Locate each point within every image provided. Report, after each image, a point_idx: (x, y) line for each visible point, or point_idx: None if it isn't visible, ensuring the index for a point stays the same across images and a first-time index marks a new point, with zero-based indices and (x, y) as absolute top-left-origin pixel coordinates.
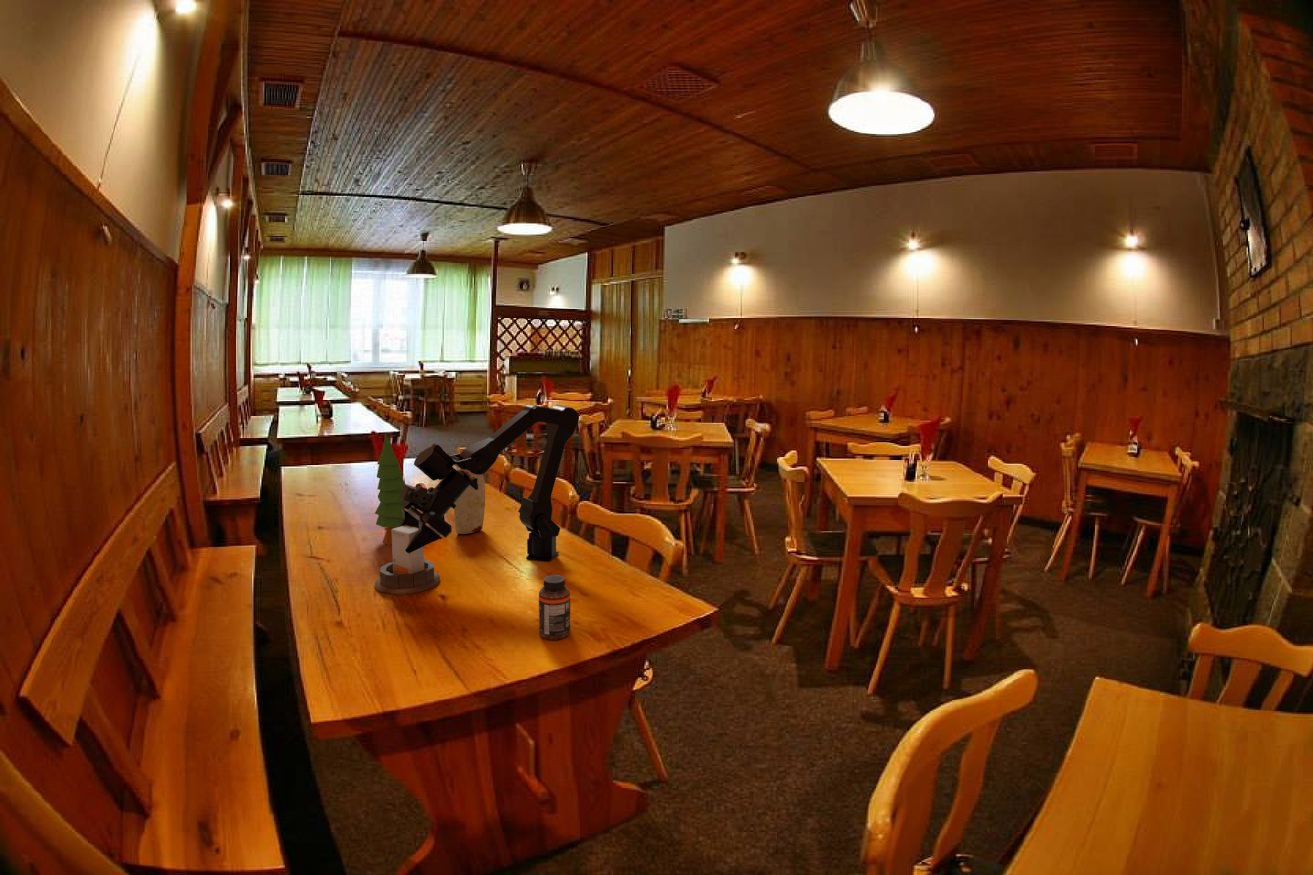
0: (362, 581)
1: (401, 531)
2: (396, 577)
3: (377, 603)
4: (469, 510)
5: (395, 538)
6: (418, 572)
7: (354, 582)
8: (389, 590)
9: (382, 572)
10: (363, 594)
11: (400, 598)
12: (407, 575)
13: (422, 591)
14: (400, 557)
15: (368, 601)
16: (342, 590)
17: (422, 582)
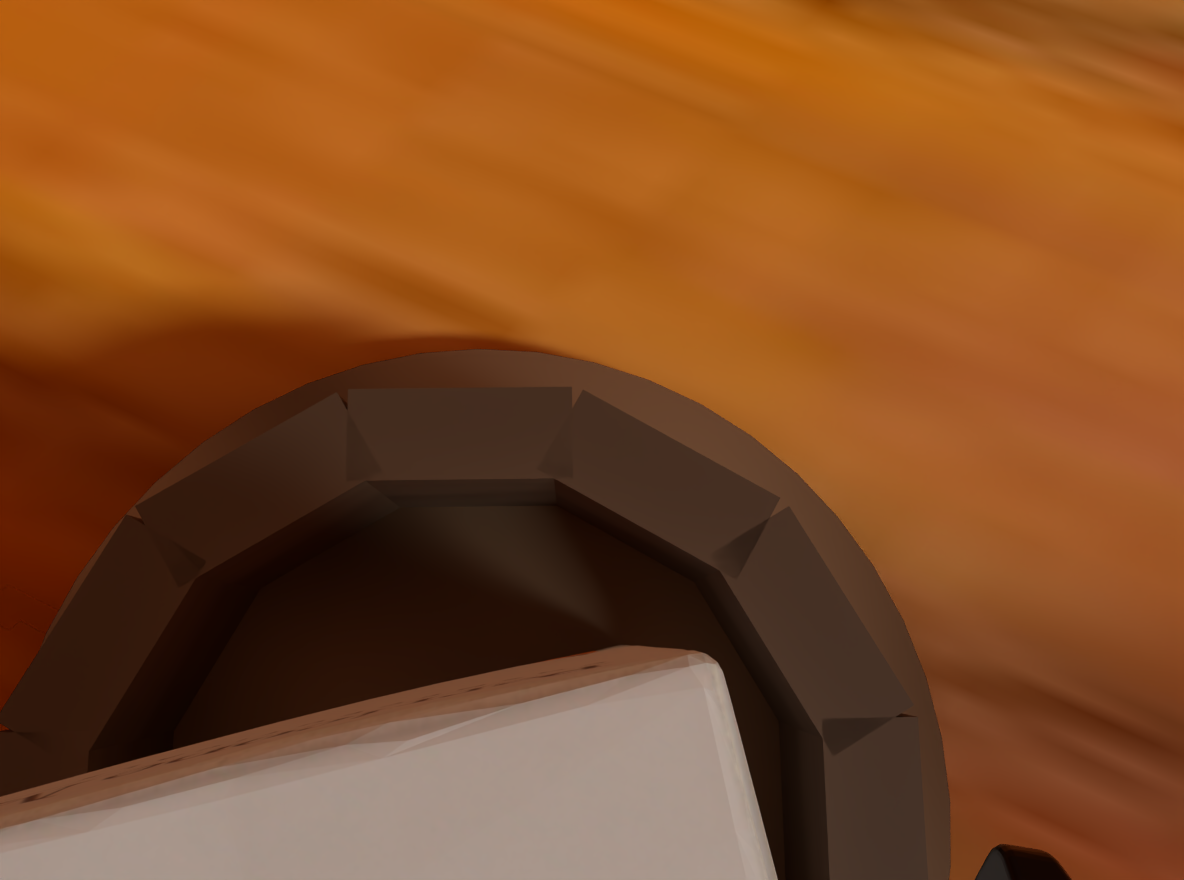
0: (969, 364)
1: (47, 849)
2: (174, 490)
3: (92, 182)
4: None
5: (463, 685)
6: None
7: (998, 273)
8: (264, 416)
9: (498, 395)
10: (500, 183)
11: (29, 459)
12: (49, 639)
13: None
14: (358, 702)
15: (234, 133)
16: (810, 58)
17: None
